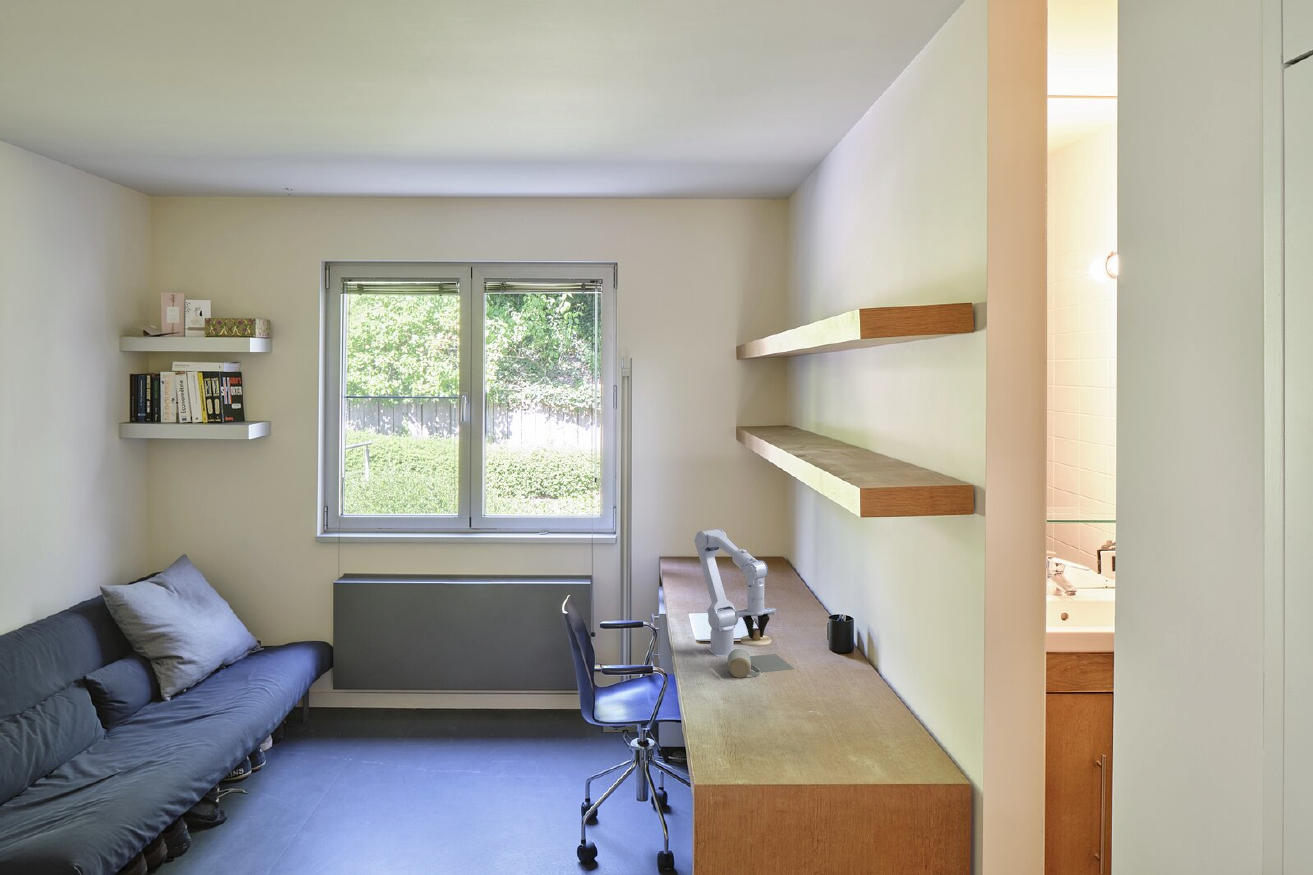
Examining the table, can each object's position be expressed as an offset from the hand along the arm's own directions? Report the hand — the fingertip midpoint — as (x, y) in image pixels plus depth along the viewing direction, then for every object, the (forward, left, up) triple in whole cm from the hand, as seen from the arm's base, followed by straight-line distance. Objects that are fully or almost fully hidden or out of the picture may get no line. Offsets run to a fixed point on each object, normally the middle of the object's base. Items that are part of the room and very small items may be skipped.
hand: (755, 637), depth 276 cm
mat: (-1, +5, -10) cm, 11 cm away
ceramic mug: (+6, -7, -10) cm, 14 cm away
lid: (0, 0, -2) cm, 2 cm away
